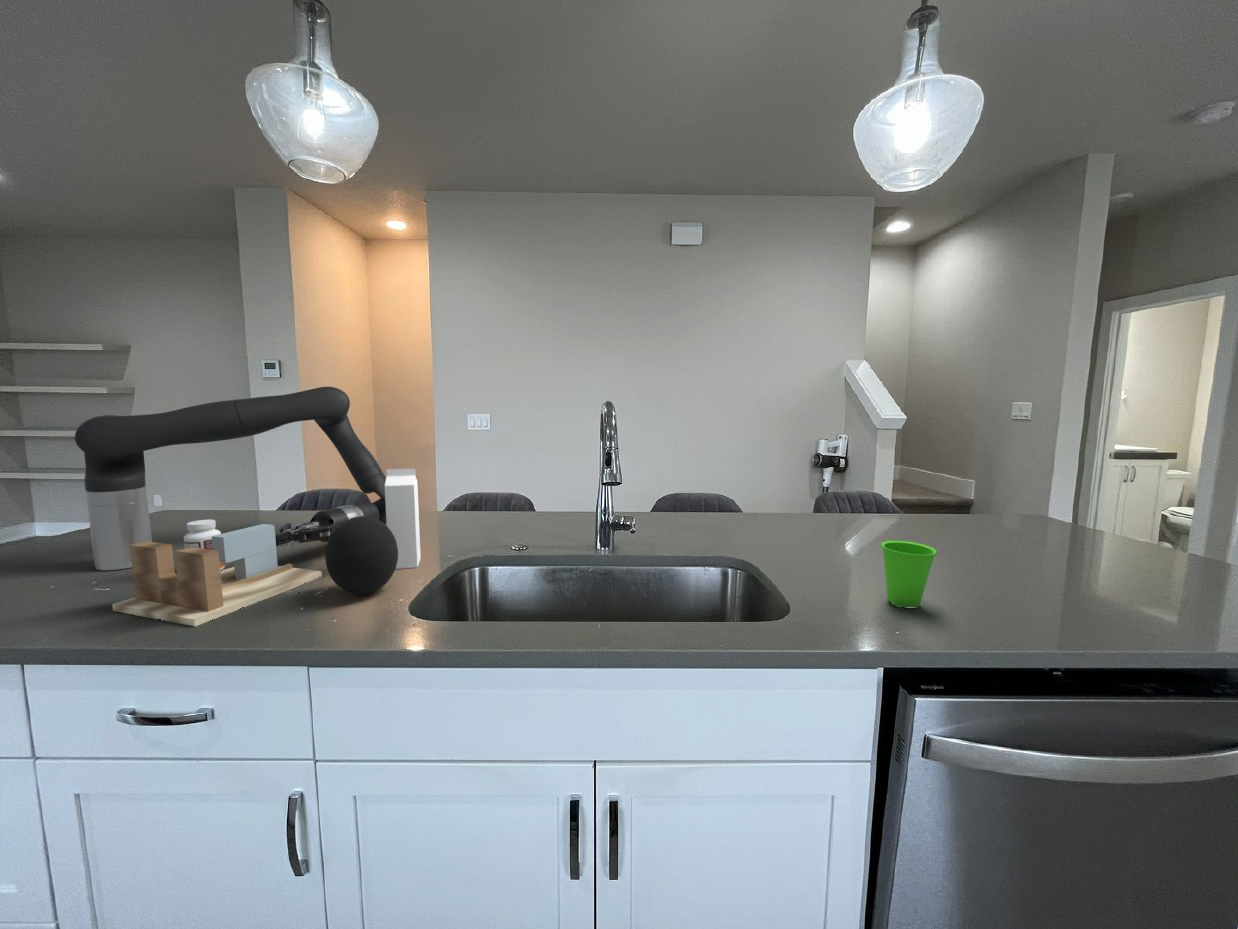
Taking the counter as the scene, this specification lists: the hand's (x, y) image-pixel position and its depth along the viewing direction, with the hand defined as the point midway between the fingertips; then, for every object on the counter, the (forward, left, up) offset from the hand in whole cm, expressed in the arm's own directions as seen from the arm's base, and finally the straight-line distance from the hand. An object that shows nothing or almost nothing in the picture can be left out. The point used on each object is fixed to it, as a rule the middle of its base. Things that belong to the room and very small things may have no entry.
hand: (270, 541), depth 101 cm
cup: (+125, +25, -8) cm, 128 cm away
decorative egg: (+25, -1, -8) cm, 26 cm away
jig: (0, -9, -8) cm, 12 cm away
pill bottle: (-16, -2, -8) cm, 18 cm away
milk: (+21, +15, -8) cm, 27 cm away
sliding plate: (0, -5, -6) cm, 8 cm away
